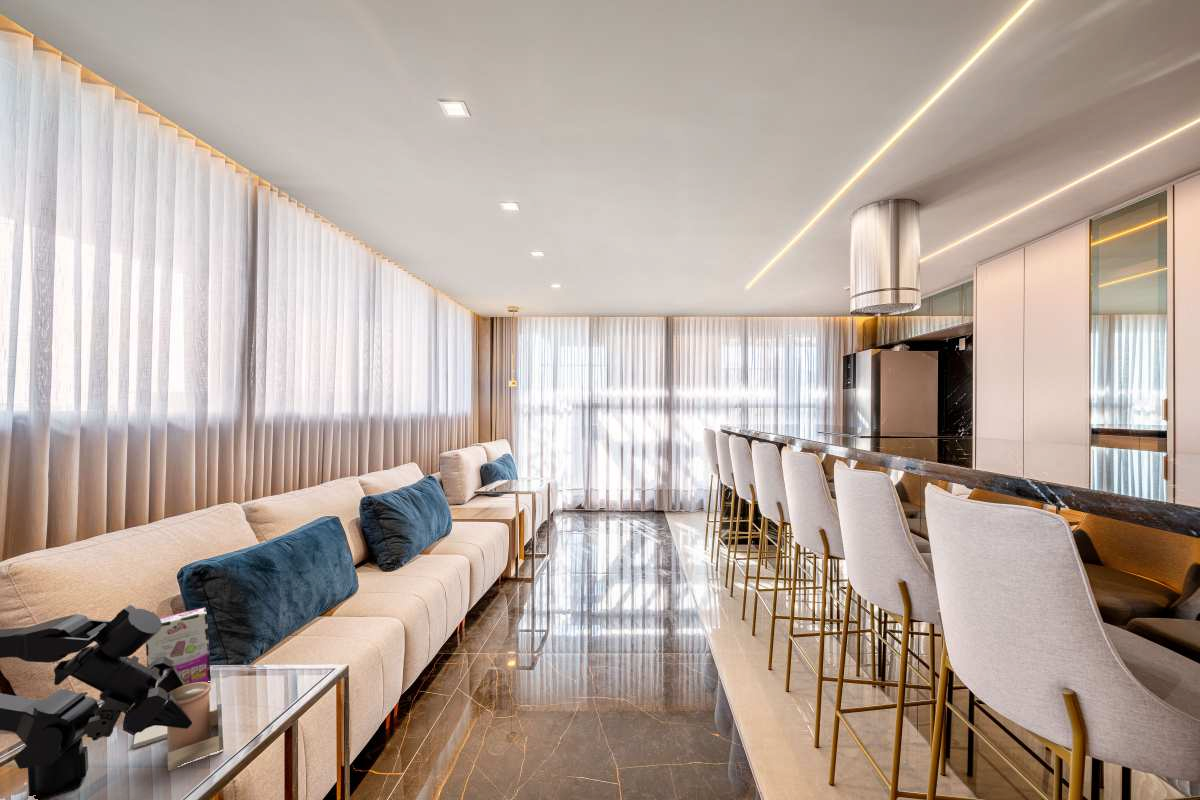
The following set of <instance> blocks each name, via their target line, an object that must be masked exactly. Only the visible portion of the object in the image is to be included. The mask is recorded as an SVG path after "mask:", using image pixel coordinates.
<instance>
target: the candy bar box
mask: <svg viewBox="0 0 1200 800" xmlns="http://www.w3.org/2000/svg"><path fill="white" fill-rule="evenodd" d="M159 619H160V620H161V623H162V627H161V629H160V631H158V632H157V633H156V634H155V635H154V636H153V637H152V638H150V639H149V640H148V641H147V642H146V643H145V656H146V667H148V666H149V665H150V664H151V663H152V662H153V661H154V660H155V659H156V658H159V657H164V656H165V657H167V658H168V659H170V660H172V661H173V664H172V666H173V665H175V667H176V670H177V671H178V673H179V675H180V677H181V679H182V681H183V682H184V684H185V685H187V684H191V683H196V682H208V681H212V680H211V679H212V677H211V657H210V644H209V643H210V641H209V628H208V627H209V626H208V625H209V624H208V613H207V609H206V607H202V608H201V607H200V608H196V609H193V610H188V611H184V612H180V613H176V614H172V615H167V616H163V617H159ZM168 670H169V669H165V671H168Z"/></svg>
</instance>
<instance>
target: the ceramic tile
mask: <svg viewBox="0 0 1200 800" xmlns="http://www.w3.org/2000/svg"><path fill="white" fill-rule="evenodd" d="M133 739H134V740H133V747H132V748H133V749H136V748H140V747H143V746H146V745H149V744H152V743H154V742H158V741H160V740H164V739H168V736H167V726H156V725H155V726H152V727H149V728H146V729H145V730H143V731H142V732H137V733H136V734H135V735H134V738H133Z"/></svg>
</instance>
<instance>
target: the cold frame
mask: <svg viewBox="0 0 1200 800" xmlns="http://www.w3.org/2000/svg"><path fill="white" fill-rule="evenodd" d="M220 679H221V678H220V677H217V678H215V690H216V692H215V693H216V708H214V709H213V708H212V709H210V726H211V728H212V727H214V726H217V731H218V732H217V733H218V735H217V736H213V737H211V738H210V739H207V740H204V741H201V742H198V743H195V744H192V745H189V746H186V747H183V748H180V749H177V750H174V751H171V752H168V751H167V771H168V772H170V770H171V771H173V770H176V769H178V768H177V767H178V766H181V765H182V764H184V763H187V762H190V761H193V760H195V759H197V758H200V757H203V756H206V755H209V754H211V753H214V752H217V751H220V750H222V749H223V750H224V732H223V731H224V729H223V710H222V709H223V708H222V705H223V704H222V692H221V682H220V681H221V680H220ZM175 768H176V769H175Z"/></svg>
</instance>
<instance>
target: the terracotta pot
mask: <svg viewBox="0 0 1200 800" xmlns="http://www.w3.org/2000/svg"><path fill="white" fill-rule="evenodd" d="M210 683H211V682H210ZM210 683H208V682H196V683H191V684H187V685H184V686H181V687H179V688H176V689H174V690H173V691H171V692H169V693H171V694H172V695H173V697H174V698H175V699H176V701H177V702H178V703H179V705H180V706H181V707H182V709H183V710H184V711H185V713H186V714H187V715H188V717H189V718H190V720H191V721H192V725H191V726H190V727H189V728H187V729H184V728H176V727H168V726H167V736H168V738H167V753H168V752H171V751H174V750H177V749H180V748H183V747H186V746H189V745H192V744H195V743H198V742H201V741H204V740H207V739H210V738H212V731H211V728H212V727H211V726H210V710H211V707H210V704H211V703H210V692H211V689H212V685H211V684H210ZM169 693H168V694H169Z"/></svg>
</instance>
